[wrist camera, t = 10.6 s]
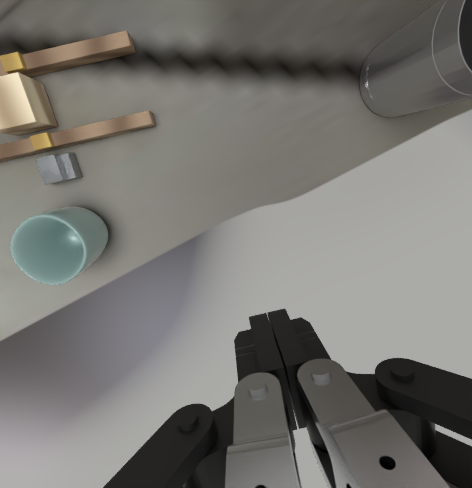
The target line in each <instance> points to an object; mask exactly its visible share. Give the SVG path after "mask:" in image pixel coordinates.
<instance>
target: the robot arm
mask: <svg viewBox="0 0 472 488" xmlns="http://www.w3.org/2000/svg"><path fill="white" fill-rule="evenodd" d="M359 84H360V92H361V96H362V98H363V100H364V102H365V104H366V105H367V106H368V108H369V109H370V110H372V111H373V112H374V113H376V114H378V115H380V116H384V117H398V116H402V115H406V114H410V113H414V112H419V111H423V110H427V109H431V108H435V107H439V106H443V105H447V104H450V103H454V102H458V101H462V100H466V99H470V98H472V0H440V1H439V2H437V3H436V4H434V5H433V6H432V7H430V8H429V9H427V10H426V11H425V12H423V13H422V14H421V15H419V16H418V17H416V18H415V19H414V20H412V21H411V22H410V23H408V24H407V25H405V26H404V27H403V28H401V29H400V30H399V31H397V32H396V33H394V34H393V35H392V36H390V37H389V38H387V39H386V40H385V41H383V42H382V43H381V44H379V45H378V46H377V47H375V48H374V49H373V50H372V51H371V53H370V54H369V55H368V56H367V58H366V60H365V61H364V63H363V66H362V69H361V73H360V78H359ZM268 318H269V320H268ZM249 320H250V325H251V329H250V330H246V331H242V332H239V333H238V334H237V336H236V338H235V340H234V343H235V353H236V361H237V362H236V363H237V373H238V384H237V386H236V388H235V396H234V397H233V398H232V399H231V400H230V401H229V402H228V403H227V404H225V405H224V406H222V407H220V408H218V409H216V410H214V411H211V410H210V408H209V407H207V406H206V405H203V404H191V405H187V406H185V407H182V408H181V409H179V410H177V411H176V412H175V413H174V414H173V415H172V416H171V417H170V418H169V419H168V420H167V421H166V422H165V423H164V424H163V425H162V426H161V427H160V428H159V429H158V430H157V431H156V432H155V433H154V435H153V436H152V437H151V438H150V439H149V440H148V441H147V442H146V443H145V444H144V445H143V446H142V447H141V448H140V449H139V450H138V451H137V452H136V454H135V455H134V456H133V457H132V458H131V459H130V460H129V461H128V462H127V463H126V464H125V465H124V466H123V467H122V468H121V470H119V472H117V474H116V475H115V476H114V477H113V478H112V479H111V480H110V481H109V482H108V483H107V484H106V485H105V486H104V487H103V488H302V486H301V481H300V475H299V470H298V465H297V459H296V454H295V440H294V435H293V430H297V426H296V421H295V417H296V420H297V423H298V426H299V429H300V428H305V427H307V430H308V433H309V436H310V441H311V446H312V450H313V453H314V455H315V458H316V460H317V463H318V465H319V467H320V469H321V472H322V474H323V477H324V479H325V481H326V483H327V486H328V488H472V446H469V445H467V444H465V443H463V442H460V441H458V440H456V439H453V438H452V437H449V436H447V435H445V434H442V433H440V432H438V431H436V430H435V424H437V425H440V426H442V427H444V428H447V429H449V430H451V431H453V432H456V433H458V434H460V435H463V436H465V437H467V438H470V439H472V379H470V378H467V377H464V376H461V375H458V374H454V373H451V372H448V371H445V370H441V369H439V368H435V367H432V366H429V365H426V364H422V363H419V362H416V361H413V360H409V359H404V358H393V359H387V360H384V361H382V362H381V363H379V364H378V365H377V367H376V369H375V374H355V373H349V372H346V371H345V370H344V369H343V367H342V366H341V365H340V364H338V363H337V362H335V361H332V360H331V358H330V356H329V355H328V353H327V351H326V350H325V348H324V346H323V344H322V343H321V341H320V339H319V338H318V336H317V334H316V332H315V331H314V329H313V327H312V326H311V324H310V323H309V322H308V321H306V320H304V319H303V318H297V319H293V320H290V318H289V316H288V314H287V312H286V310H285V309H281V310H277V311H272V312H268V317H267V314H266V313H264V314H260V315H255V316H251V317H249ZM293 410H294V412H293ZM294 413H295V417H294Z"/></svg>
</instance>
